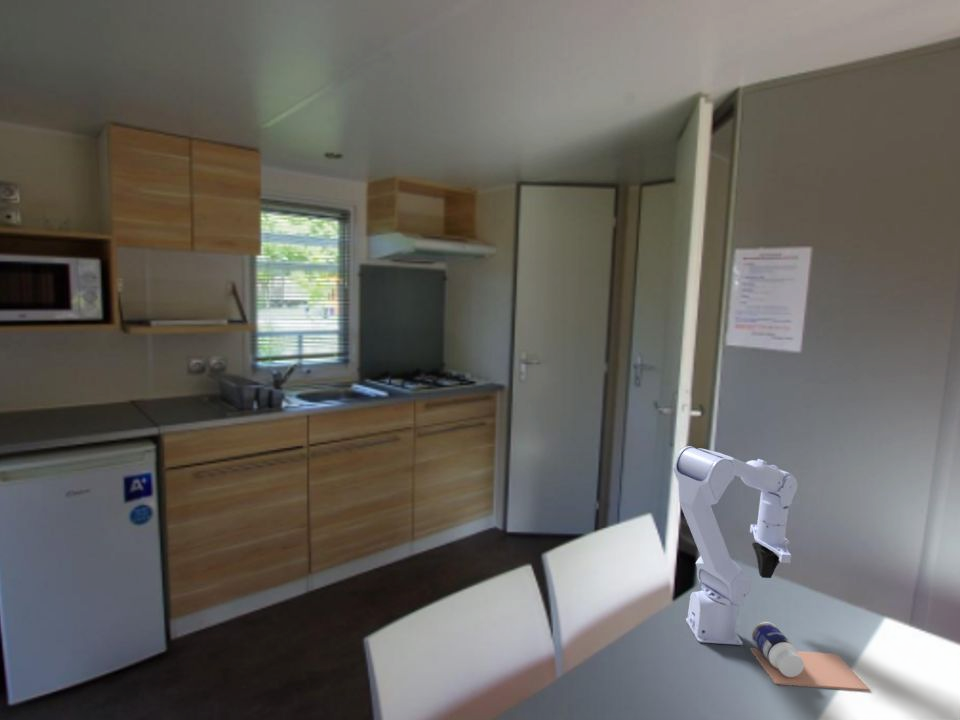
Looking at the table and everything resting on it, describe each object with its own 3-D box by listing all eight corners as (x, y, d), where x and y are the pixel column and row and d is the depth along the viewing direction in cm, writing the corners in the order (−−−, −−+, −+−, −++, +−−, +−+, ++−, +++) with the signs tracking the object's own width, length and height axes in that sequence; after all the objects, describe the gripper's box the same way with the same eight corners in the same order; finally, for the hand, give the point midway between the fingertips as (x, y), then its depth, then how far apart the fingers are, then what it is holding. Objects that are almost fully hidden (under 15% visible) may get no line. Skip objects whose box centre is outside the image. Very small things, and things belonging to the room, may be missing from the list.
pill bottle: (780, 623, 113) (810, 655, 103) (772, 647, 114) (802, 682, 104) (754, 618, 112) (782, 651, 103) (747, 642, 113) (774, 677, 103)
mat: (775, 684, 103) (775, 682, 103) (750, 649, 112) (750, 647, 112) (869, 691, 102) (869, 689, 102) (836, 655, 112) (836, 653, 112)
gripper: (808, 536, 113) (800, 595, 115) (773, 507, 128) (767, 560, 130) (774, 534, 114) (767, 593, 116) (743, 506, 128) (737, 559, 130)
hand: (765, 576), depth 123 cm, fingers closed
